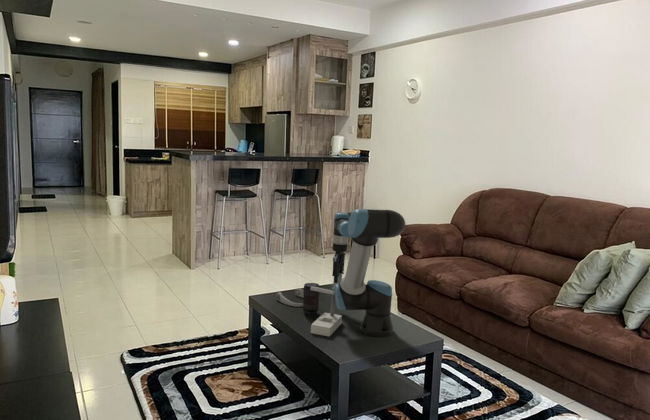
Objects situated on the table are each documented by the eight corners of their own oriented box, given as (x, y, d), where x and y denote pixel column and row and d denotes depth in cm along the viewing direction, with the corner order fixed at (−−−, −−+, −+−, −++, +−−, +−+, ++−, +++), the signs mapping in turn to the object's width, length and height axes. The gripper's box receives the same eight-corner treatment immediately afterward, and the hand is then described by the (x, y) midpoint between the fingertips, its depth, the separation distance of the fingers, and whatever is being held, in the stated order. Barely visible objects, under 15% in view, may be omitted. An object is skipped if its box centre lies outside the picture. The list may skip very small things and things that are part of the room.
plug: (333, 292, 261) (334, 272, 260) (343, 294, 260) (344, 273, 258) (330, 295, 257) (331, 274, 255) (339, 296, 255) (340, 275, 253)
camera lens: (319, 311, 256) (320, 283, 254) (317, 316, 248) (319, 287, 246) (303, 309, 256) (305, 281, 254) (301, 315, 248) (302, 286, 246)
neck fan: (319, 303, 269) (320, 294, 268) (296, 309, 257) (296, 300, 257) (298, 295, 282) (298, 286, 281) (274, 300, 270) (274, 291, 269)
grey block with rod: (341, 323, 240) (343, 295, 238) (329, 336, 224) (331, 306, 222) (324, 320, 243) (325, 292, 241) (310, 332, 226) (312, 302, 224)
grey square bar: (334, 295, 236) (334, 292, 236) (309, 290, 242) (310, 287, 242) (336, 294, 238) (336, 290, 238) (312, 289, 244) (312, 286, 244)
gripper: (338, 239, 263) (335, 282, 267) (327, 245, 247) (324, 290, 251) (351, 240, 261) (349, 284, 264) (342, 247, 245) (339, 292, 248)
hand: (337, 287), depth 257 cm, fingers closed on plug, 4 cm apart
